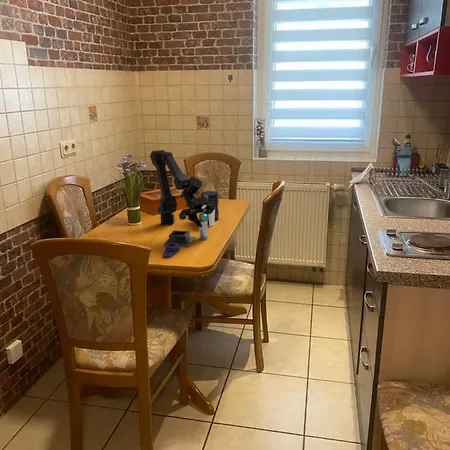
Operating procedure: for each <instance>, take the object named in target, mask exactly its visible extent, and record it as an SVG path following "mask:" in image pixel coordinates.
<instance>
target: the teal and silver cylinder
mask: <svg viewBox="0 0 450 450" xmlns="http://www.w3.org/2000/svg"><path fill="white" fill-rule="evenodd" d="M198 219H199V221H200V223H201V225H202V227H201V228H200V227H199V226H198V227H199V228H198V231H199V240H201V241H206V240H208V239H209V228H208V227H209V226H208V221H207V214H200V213H198Z"/></svg>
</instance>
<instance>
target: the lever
mask: <svg viewBox="0 0 450 450" xmlns="http://www.w3.org/2000/svg"><path fill="white" fill-rule="evenodd" d="M179 252H180V247H179V244H178V243H168V244H166V245H165V246H164V252H163V254H162V258H164V259H171V258H173V257H174V256H175V255H177V254H178V253H179Z"/></svg>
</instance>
